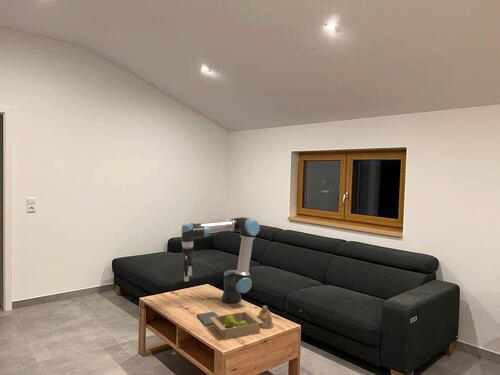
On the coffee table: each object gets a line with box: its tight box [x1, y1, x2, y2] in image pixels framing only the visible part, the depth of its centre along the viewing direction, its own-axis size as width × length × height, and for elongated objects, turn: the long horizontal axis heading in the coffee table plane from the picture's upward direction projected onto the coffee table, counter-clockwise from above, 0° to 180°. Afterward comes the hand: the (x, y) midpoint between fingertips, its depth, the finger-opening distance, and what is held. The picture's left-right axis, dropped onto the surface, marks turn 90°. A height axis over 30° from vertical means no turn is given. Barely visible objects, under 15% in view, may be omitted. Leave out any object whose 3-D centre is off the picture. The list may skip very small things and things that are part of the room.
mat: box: [196, 311, 218, 327], centre depth 260 cm, size 12×19×2 cm, turn 25°
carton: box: [210, 310, 263, 340], centre depth 244 cm, size 28×22×6 cm
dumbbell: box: [224, 314, 249, 328], centre depth 244 cm, size 16×8×7 cm, turn 41°
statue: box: [256, 304, 275, 330], centre depth 252 cm, size 12×14×10 cm
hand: (188, 278), depth 264 cm, fingers open, 13 cm apart
